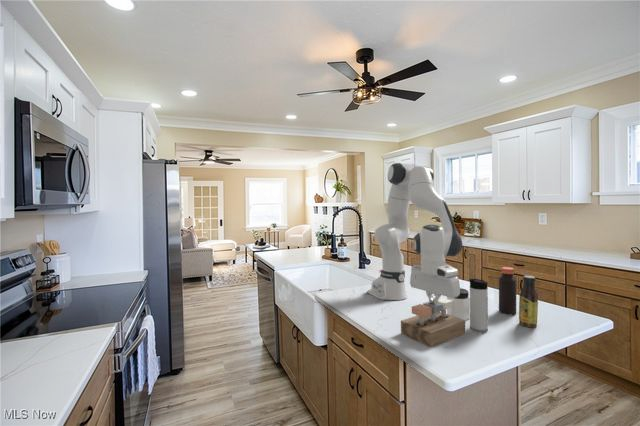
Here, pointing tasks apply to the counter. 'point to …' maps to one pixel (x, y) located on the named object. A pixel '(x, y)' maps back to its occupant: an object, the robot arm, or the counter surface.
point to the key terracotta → (421, 312)
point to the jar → (460, 305)
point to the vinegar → (507, 291)
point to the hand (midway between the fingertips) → (433, 303)
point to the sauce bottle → (528, 303)
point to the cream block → (445, 306)
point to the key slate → (434, 309)
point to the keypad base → (433, 329)
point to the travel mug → (478, 305)
